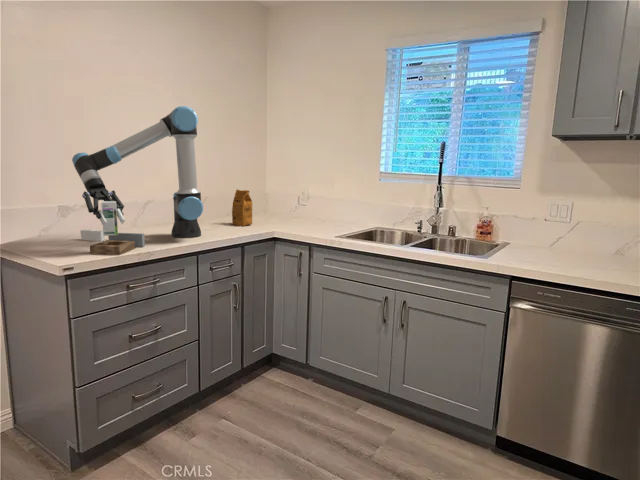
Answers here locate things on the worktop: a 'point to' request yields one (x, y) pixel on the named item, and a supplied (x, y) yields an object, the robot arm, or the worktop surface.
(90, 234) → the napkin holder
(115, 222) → the syrup box
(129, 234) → the backstop wall
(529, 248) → the worktop surface
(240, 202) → the coffee package
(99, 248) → the tray
